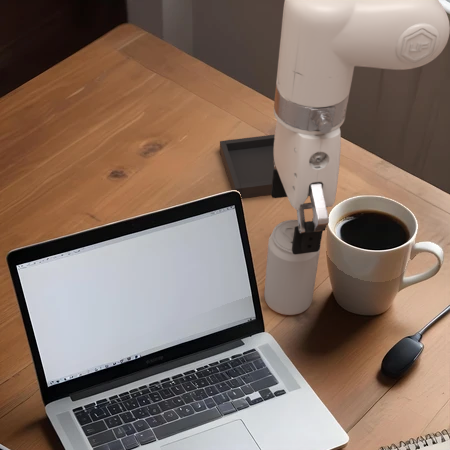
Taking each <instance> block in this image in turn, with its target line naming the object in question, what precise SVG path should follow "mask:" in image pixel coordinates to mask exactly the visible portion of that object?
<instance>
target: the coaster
mask: <svg viewBox="0 0 450 450" xmlns="http://www.w3.org/2000/svg"><path fill="white" fill-rule="evenodd" d="M274 137H275V134H269V135H268V134H267V135H260V136H259V135H258V136H251V137H243V138H235V139H234V138H233V139H226V140H219V154H220V157H221V160H222V163H223V166H224V169H225V172H226V175H227V179H228V182H229V185H230V188H231V191H232V190H237V191H239V192H240V194H241V197H242V199H249V198H257V197H265V196H272V195H271V187H272V178H273V170H277V169H275V168H274Z"/></svg>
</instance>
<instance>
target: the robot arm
mask: <svg viewBox="0 0 450 450" xmlns="http://www.w3.org/2000/svg"><path fill="white" fill-rule="evenodd" d="M282 9H283V11H282V19H281V30H280V31H281V32H280V41H279V50H278V61H277V73H276V83H275V91H274V92H275V93H274V102H273V115H274V118H275V120H276V124H275V128H274V129H275V131H274V135H275V137H274V168H275V169H277V170H273V178H272V187H271V195H270V196H271V197H272V198H273V199H280V198H287V199H288V201H289V204H290V205H291V207H292V208H293V209H294V210H296V218H297V219H296V220H298V226H296V227H295V229H294V236H293V244H292V252H293V254H295V255H296V254H303V253H311V252H317V251H319V249H320V250H321V246H320V244H321V243H322V237H323V232H325V231H326V228H327V227H328V225H329V222H330V218H329V213H328V208H332V207H333V206H334V204H335V202H336V196H337V190H338V189H337V188H338V182H339V173H340V164H341V152H342V151H341V149H342V148H341V147H342V135H341V134H342V133H341V128H340V127H341V126H342V125H343V124H344V122H345V120H346V115H347V109H348V103H349V98H350V92H351V87H352V81H353V77H354V72H355V71H354V70H355V67H364V68H372V69H373V68H374V69H382V70H394V71H395V70H396V71H402V70H404V71H405V70H412V69H416V68H420V67H422V66H425V65H427V64H429V63H430V62H432V61H434V60H435V59H437V57H438V56H440V54H441V53H442V52H443V50H444V49H445V47H446V46H447V44H448V41H449V38H450V20H449V19H450V18H449V16H448V13H447V11H446V10H445V8H444V6H443V5H442V3H441V2H440V0H284V3H283V8H282ZM308 198H309V199H310V202H306V200H307V199H308ZM305 210H312V218H311V219H312V220H308V221H306V218H305V217H306V216H305Z"/></svg>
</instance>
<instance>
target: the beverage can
mask: <svg viewBox="0 0 450 450" xmlns="http://www.w3.org/2000/svg"><path fill="white" fill-rule="evenodd" d="M296 226H298V219H288V220H284V221H281V222H279V223H278V224H276V225H275V226H274V227H273V230H272V233H270V235H269V238H268V243H267V255H266V268H265V278H264V279H265V281H264V291H263V292H264V293H263V297H264V301H265V303H266V306H268V307H269V308H270V310H273V311H274V312H276V313H277V314H281V315H285V316H294V315H299V314H302V313H304V312H305V311H307V310H308V309H309V308H310V307H311V305H312V302H313V298H314V293H315V286H316V279H317V271H318V265H319V259H320V253H321V248H320V249H319V251H317V252H311V253H303V254H296V255H295V254H293V252H292V244H293V236H294V229H295V227H296ZM321 246H322V245H321V244H320V247H321Z"/></svg>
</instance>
